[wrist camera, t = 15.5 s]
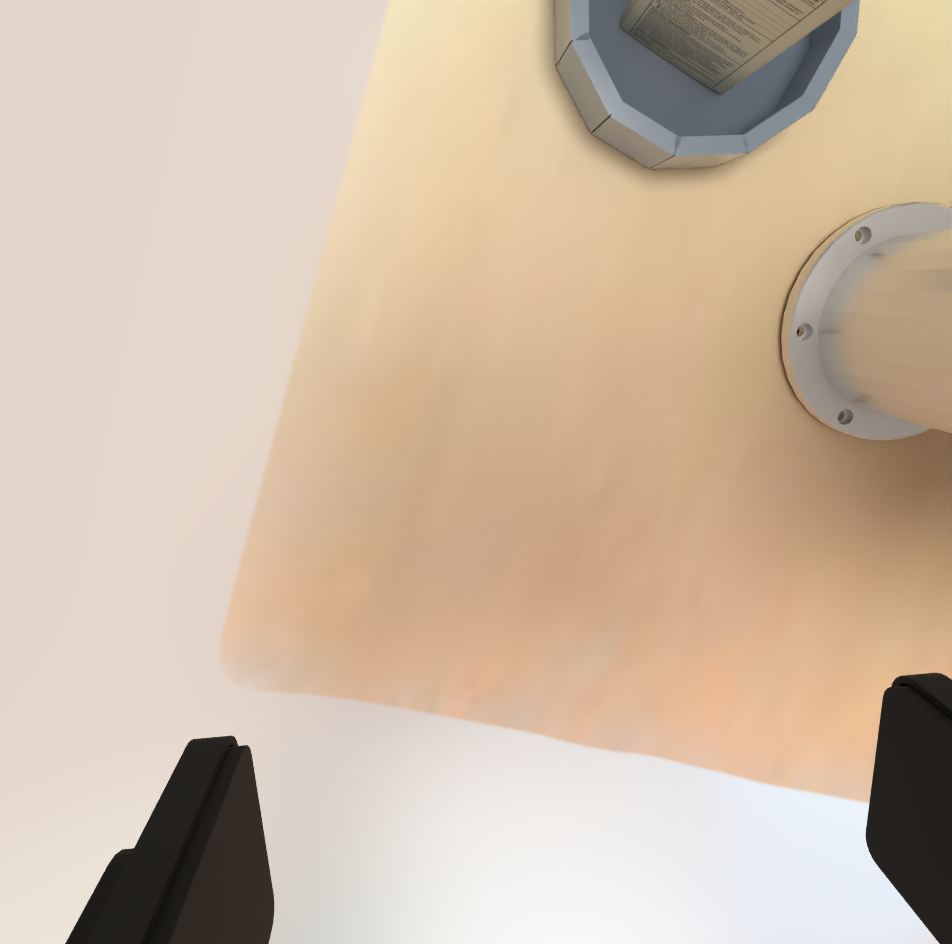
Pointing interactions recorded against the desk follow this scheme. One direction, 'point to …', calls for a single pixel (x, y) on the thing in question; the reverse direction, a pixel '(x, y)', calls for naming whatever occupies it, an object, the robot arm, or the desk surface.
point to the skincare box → (724, 33)
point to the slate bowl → (686, 88)
